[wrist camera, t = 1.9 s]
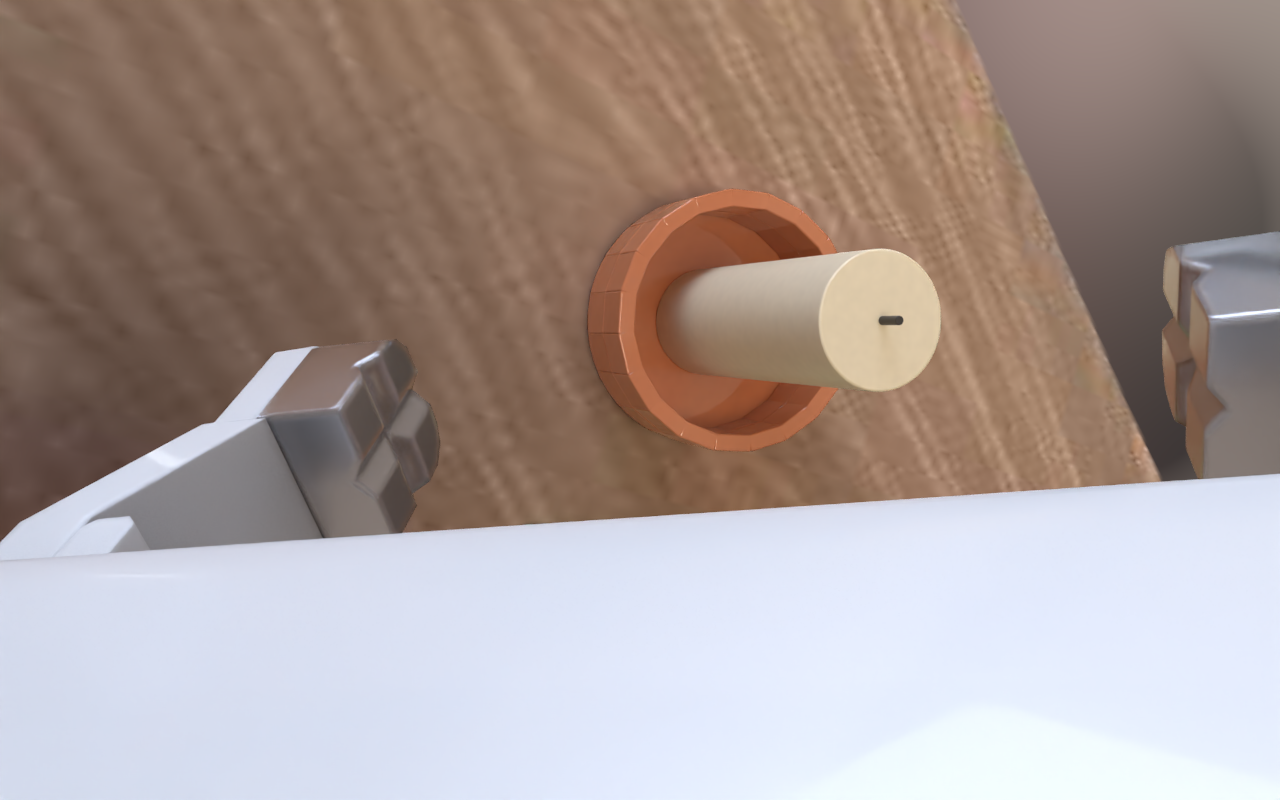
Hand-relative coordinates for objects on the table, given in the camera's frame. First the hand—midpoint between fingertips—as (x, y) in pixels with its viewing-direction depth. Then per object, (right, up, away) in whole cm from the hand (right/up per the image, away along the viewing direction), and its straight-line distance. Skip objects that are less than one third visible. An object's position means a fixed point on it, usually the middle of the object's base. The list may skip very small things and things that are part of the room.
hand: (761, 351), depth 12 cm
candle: (+2, +3, +37) cm, 37 cm away
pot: (+1, +3, +37) cm, 37 cm away
